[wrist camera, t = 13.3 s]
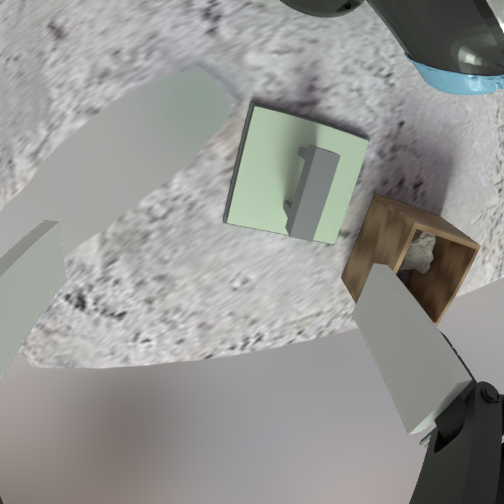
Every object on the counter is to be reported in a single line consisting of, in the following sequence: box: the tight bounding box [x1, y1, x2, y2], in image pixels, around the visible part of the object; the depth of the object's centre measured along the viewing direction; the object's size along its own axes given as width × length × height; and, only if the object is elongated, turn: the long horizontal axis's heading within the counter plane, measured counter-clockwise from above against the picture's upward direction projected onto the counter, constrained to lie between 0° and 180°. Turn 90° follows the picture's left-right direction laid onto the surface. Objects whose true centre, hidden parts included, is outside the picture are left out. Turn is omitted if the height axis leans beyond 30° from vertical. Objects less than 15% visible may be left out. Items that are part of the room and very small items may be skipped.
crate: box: [341, 193, 480, 326], centre depth 42 cm, size 16×16×12 cm
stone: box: [399, 229, 436, 274], centre depth 45 cm, size 8×10×6 cm
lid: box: [227, 106, 369, 244], centre depth 37 cm, size 17×17×9 cm
